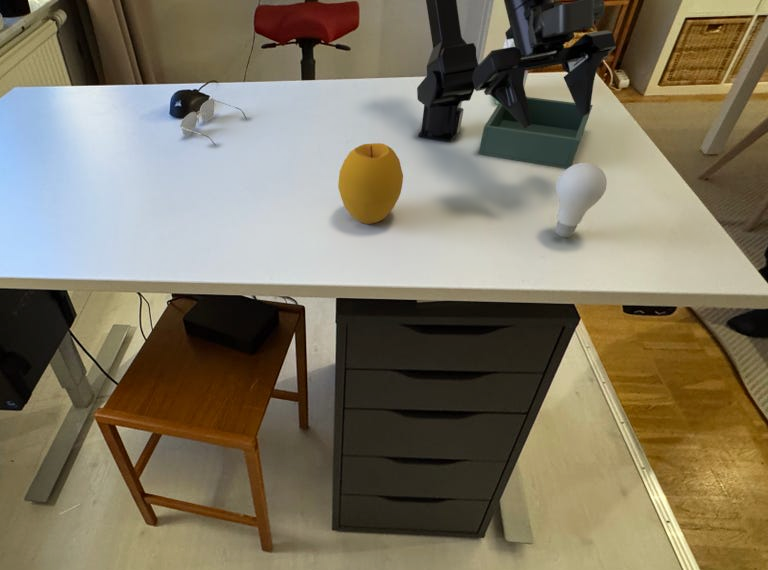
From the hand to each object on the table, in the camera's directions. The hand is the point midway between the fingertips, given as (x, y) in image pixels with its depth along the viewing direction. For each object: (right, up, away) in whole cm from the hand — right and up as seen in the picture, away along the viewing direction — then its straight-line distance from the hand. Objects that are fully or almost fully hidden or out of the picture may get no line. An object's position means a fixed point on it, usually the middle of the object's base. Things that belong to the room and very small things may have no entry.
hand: (557, 120), depth 75 cm
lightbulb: (+3, -15, +5) cm, 16 cm away
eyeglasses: (-53, +15, +38) cm, 66 cm away
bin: (+8, +7, +25) cm, 27 cm away
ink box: (+9, +23, +40) cm, 47 cm away
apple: (-25, -11, +11) cm, 29 cm away
